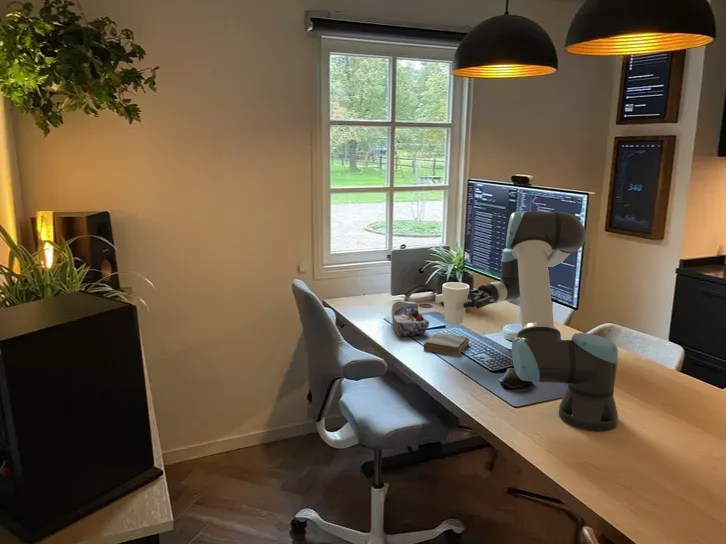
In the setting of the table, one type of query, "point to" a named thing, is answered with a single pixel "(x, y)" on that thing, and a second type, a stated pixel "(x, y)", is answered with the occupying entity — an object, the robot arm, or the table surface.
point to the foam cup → (450, 296)
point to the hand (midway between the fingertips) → (445, 302)
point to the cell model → (408, 319)
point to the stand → (446, 344)
